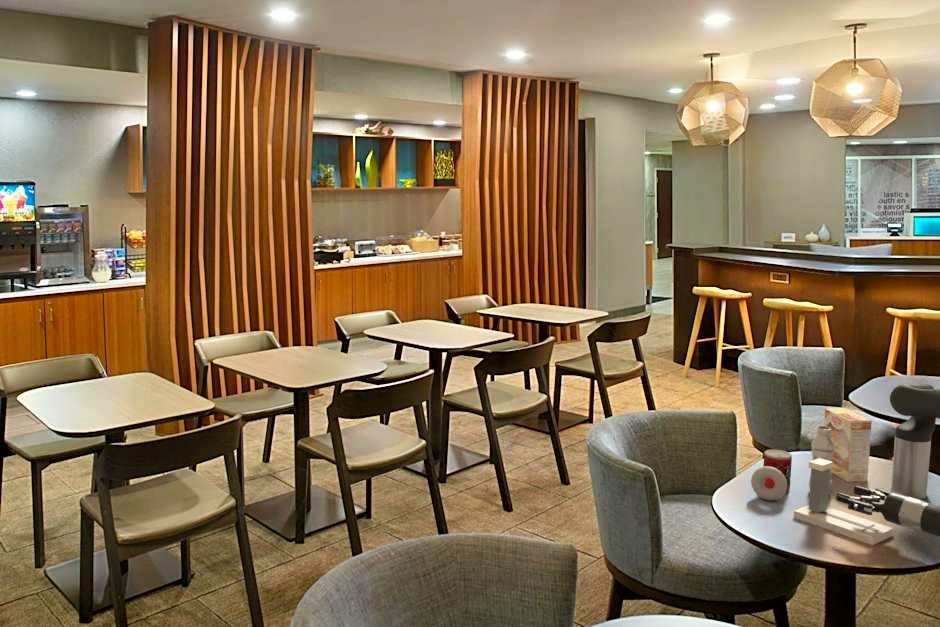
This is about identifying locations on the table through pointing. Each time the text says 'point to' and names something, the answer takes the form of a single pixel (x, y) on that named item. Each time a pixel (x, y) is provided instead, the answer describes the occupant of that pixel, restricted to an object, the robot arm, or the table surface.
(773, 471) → the donut
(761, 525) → the table surface
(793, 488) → the table surface
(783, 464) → the canned food
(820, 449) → the plastic bottle
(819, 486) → the slider knob
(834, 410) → the coffeecake box
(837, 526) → the fader deck
